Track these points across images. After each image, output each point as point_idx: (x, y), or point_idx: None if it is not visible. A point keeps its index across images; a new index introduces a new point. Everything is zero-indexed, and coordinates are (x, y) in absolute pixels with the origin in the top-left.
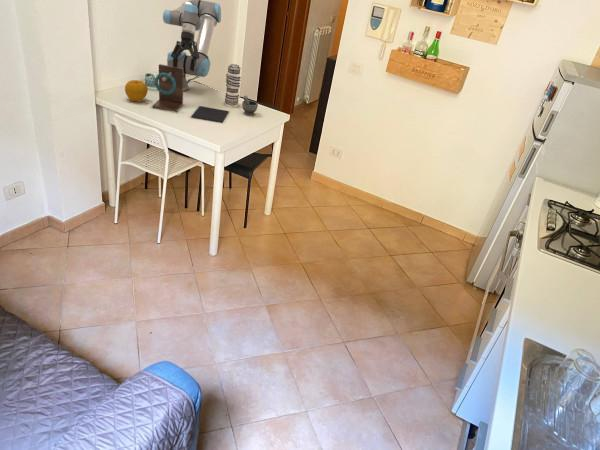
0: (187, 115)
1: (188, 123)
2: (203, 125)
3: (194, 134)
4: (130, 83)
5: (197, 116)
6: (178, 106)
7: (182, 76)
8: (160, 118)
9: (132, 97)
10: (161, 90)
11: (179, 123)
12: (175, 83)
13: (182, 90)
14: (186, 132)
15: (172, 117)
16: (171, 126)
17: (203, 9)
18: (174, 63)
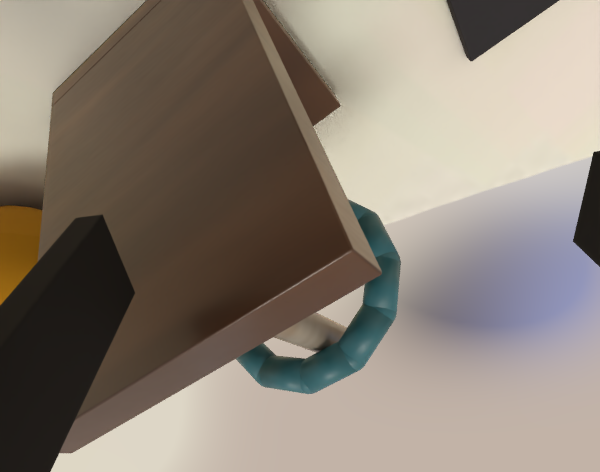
0: (424, 56)
1: (499, 118)
2: (584, 57)
3: (579, 152)
4: None
5: (507, 20)
6: (295, 57)
7: (334, 172)
8: None
9: None
10: None
11: (463, 156)
12: (398, 255)
13: (269, 40)
14: (540, 171)
15: (386, 153)
16: (456, 197)
17: None
18: (88, 376)
